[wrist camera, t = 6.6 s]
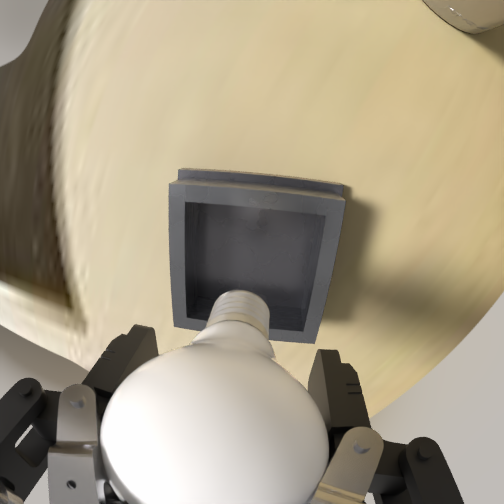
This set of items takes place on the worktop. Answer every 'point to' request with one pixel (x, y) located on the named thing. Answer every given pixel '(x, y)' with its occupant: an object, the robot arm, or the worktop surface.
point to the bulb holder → (253, 246)
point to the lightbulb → (215, 420)
